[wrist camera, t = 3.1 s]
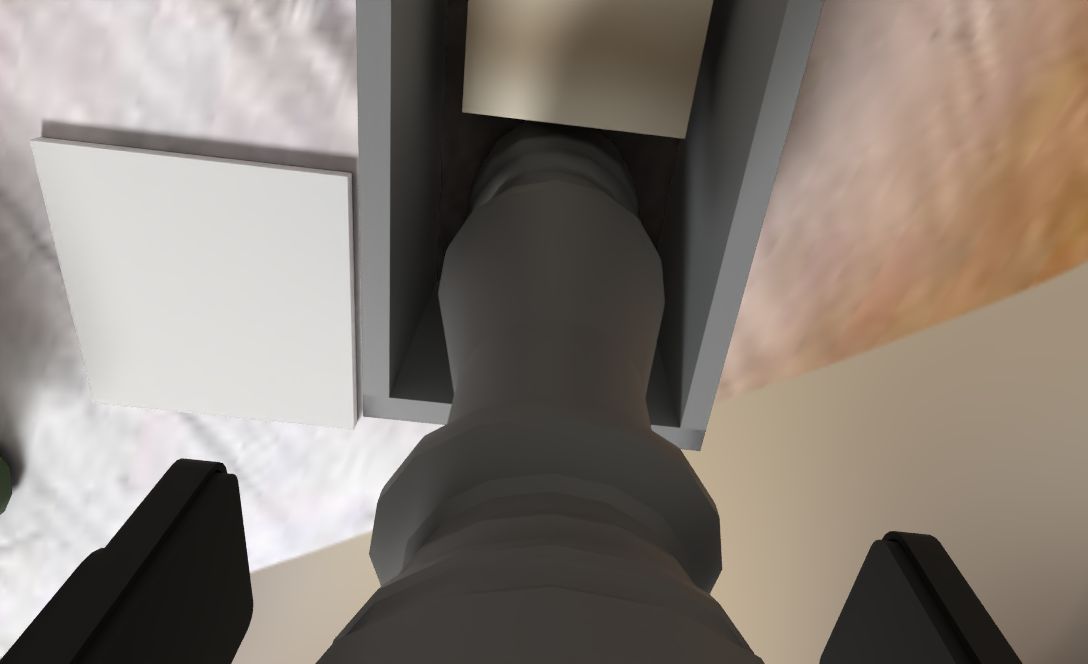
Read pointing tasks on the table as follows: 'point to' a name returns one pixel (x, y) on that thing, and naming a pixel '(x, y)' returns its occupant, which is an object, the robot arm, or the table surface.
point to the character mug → (4, 485)
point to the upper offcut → (586, 62)
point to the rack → (688, 227)
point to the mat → (206, 281)
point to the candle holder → (547, 444)
